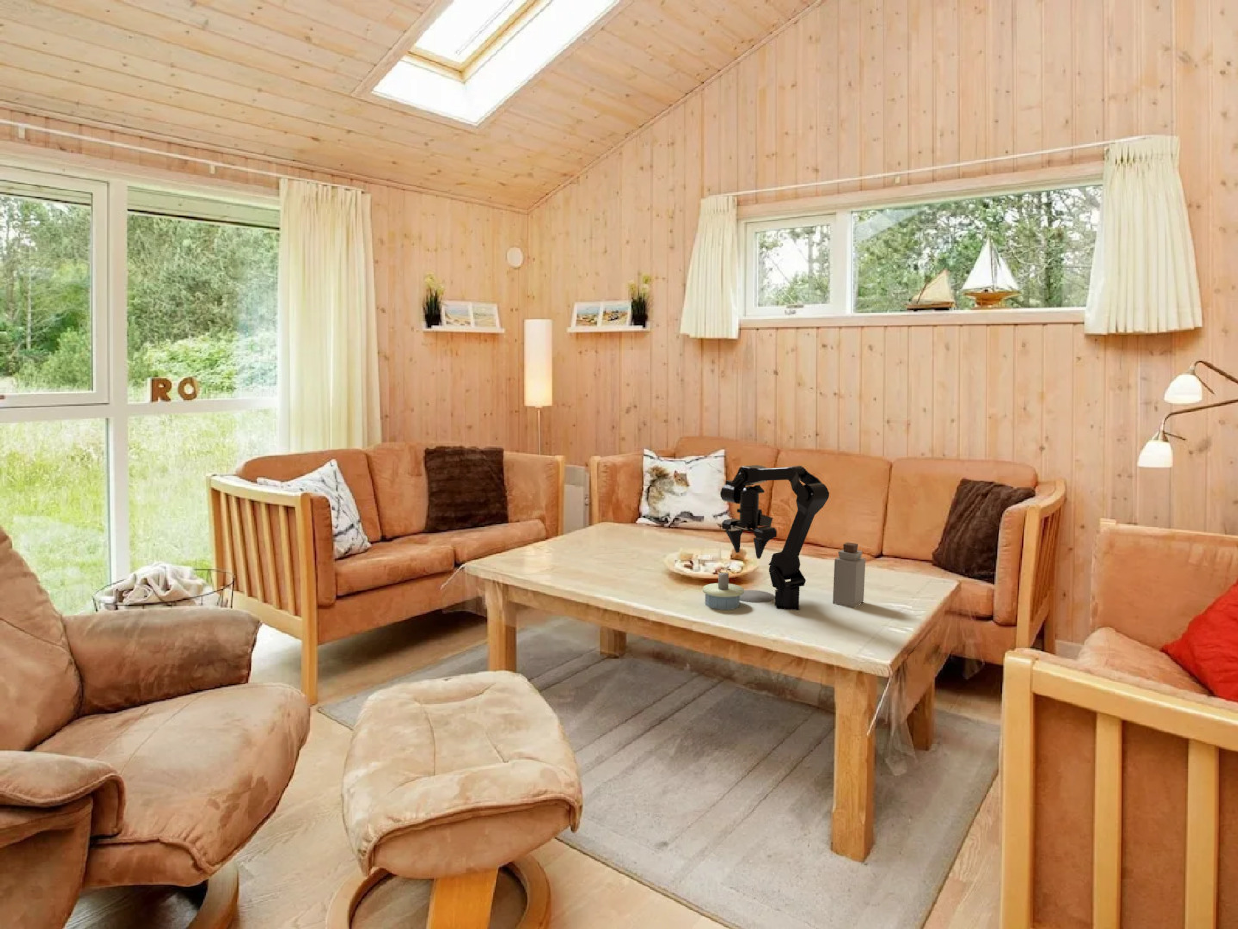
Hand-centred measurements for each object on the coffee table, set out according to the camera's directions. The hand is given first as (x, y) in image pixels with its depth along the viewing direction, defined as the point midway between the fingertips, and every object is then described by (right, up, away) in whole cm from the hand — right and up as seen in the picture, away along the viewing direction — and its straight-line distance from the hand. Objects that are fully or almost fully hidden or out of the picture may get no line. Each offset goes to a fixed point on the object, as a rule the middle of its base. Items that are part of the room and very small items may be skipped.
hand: (748, 555), depth 239 cm
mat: (+1, -12, -3) cm, 13 cm away
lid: (-9, -9, -11) cm, 17 cm away
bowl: (-9, -14, -11) cm, 20 cm away
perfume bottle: (+29, -13, -8) cm, 33 cm away
